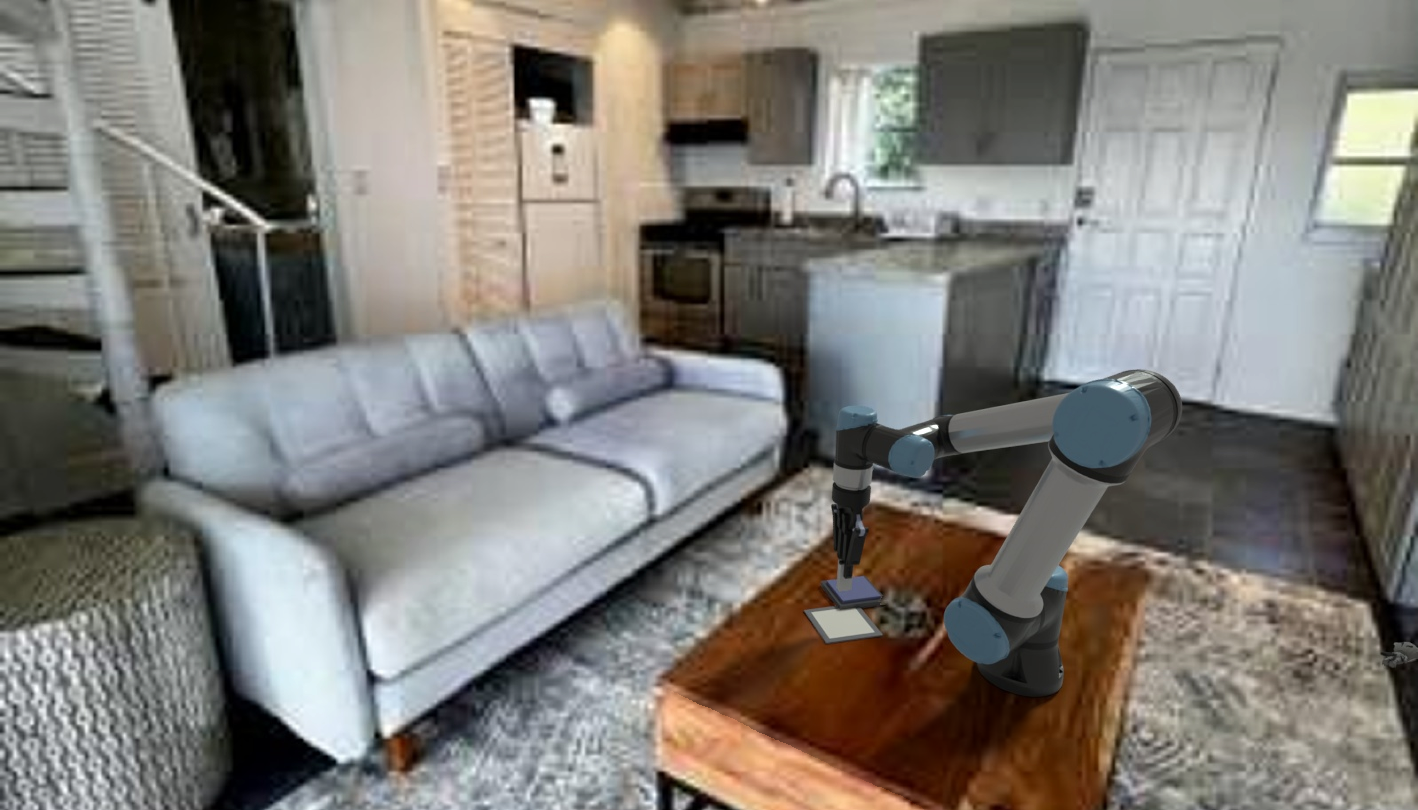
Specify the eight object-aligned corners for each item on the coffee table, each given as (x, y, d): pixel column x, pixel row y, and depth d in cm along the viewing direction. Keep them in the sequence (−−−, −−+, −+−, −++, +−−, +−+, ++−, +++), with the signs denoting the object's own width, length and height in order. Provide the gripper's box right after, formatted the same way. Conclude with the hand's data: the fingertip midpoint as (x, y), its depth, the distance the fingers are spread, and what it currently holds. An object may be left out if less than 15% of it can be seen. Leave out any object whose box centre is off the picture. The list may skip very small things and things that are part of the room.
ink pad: (886, 604, 166) (887, 597, 165) (840, 611, 163) (840, 603, 163) (864, 580, 176) (865, 573, 176) (820, 585, 174) (821, 578, 173)
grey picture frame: (882, 635, 155) (882, 634, 154) (826, 644, 152) (826, 642, 151) (856, 604, 166) (856, 603, 166) (803, 611, 163) (803, 610, 163)
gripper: (884, 494, 145) (874, 603, 152) (855, 470, 157) (847, 571, 164) (848, 498, 143) (839, 607, 150) (821, 472, 155) (815, 575, 162)
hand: (843, 588), depth 157 cm, fingers closed
